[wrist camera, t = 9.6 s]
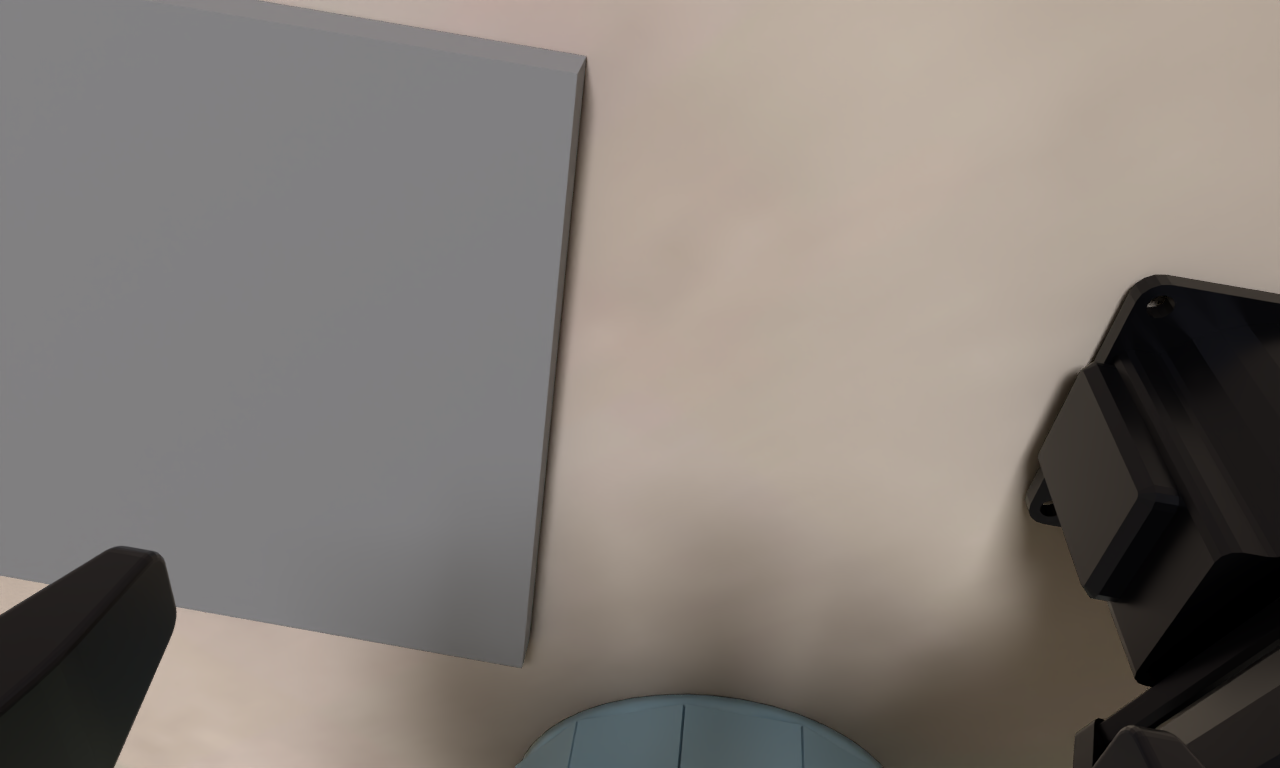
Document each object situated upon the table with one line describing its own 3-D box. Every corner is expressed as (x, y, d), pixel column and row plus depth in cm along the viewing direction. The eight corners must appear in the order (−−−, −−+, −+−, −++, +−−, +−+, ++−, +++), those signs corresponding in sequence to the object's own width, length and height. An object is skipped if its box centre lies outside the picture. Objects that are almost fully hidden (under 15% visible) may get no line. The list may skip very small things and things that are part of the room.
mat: (586, 56, 18) (577, 74, 17) (529, 639, 28) (522, 668, 27) (-311, -96, 18) (-362, -87, 17) (-44, 538, 28) (-68, 563, 27)
